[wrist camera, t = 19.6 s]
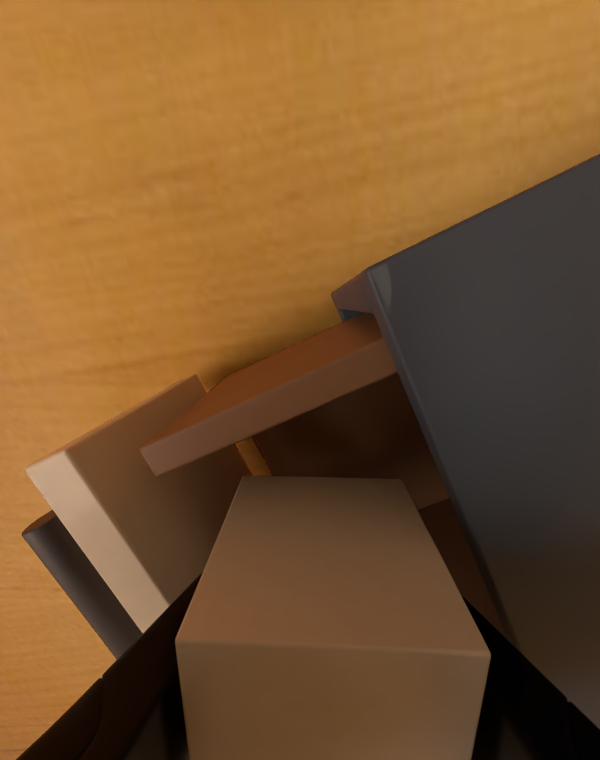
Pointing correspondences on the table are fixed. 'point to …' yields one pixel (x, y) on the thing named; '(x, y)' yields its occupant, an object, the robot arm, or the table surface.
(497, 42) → the table surface
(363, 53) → the table surface
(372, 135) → the table surface
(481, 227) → the cabinet
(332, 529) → the block
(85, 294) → the table surface
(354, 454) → the drawer
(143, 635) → the robot arm
